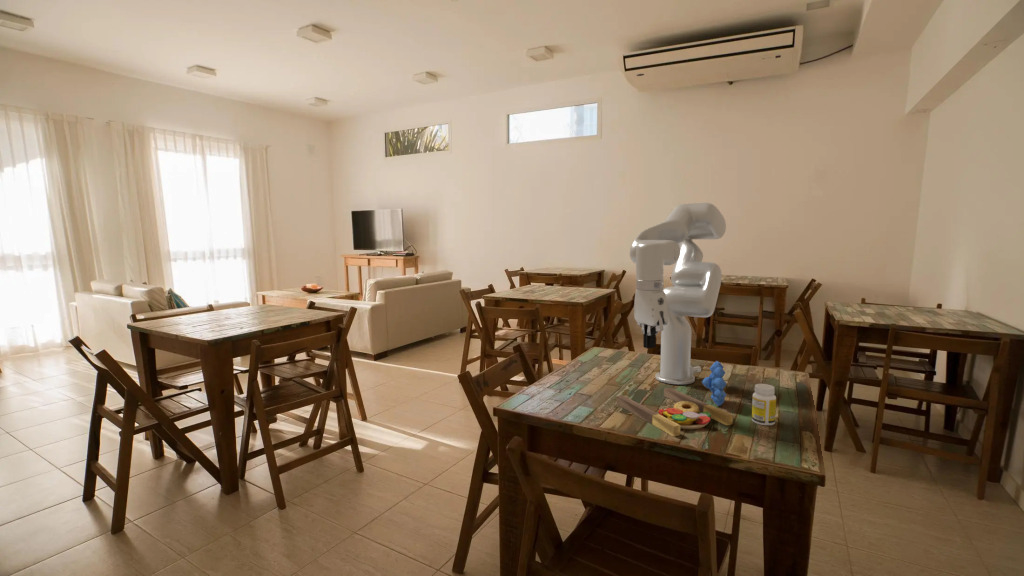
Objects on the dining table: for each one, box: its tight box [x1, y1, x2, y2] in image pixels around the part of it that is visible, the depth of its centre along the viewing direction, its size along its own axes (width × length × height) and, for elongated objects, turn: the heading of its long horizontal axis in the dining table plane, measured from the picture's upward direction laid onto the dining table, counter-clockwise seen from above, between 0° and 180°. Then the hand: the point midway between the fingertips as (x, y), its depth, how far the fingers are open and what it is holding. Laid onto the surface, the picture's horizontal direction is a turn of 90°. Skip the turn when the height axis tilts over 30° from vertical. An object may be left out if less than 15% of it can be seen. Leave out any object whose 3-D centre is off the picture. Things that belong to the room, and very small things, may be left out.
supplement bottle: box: [751, 383, 777, 426], centre depth 122 cm, size 6×5×10 cm
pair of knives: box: [616, 387, 734, 437], centre depth 129 cm, size 19×24×2 cm
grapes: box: [701, 360, 727, 407], centre depth 137 cm, size 12×7×12 cm, turn 166°
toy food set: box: [657, 401, 712, 430], centre depth 124 cm, size 13×13×3 cm
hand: (649, 347), depth 138 cm, fingers closed
